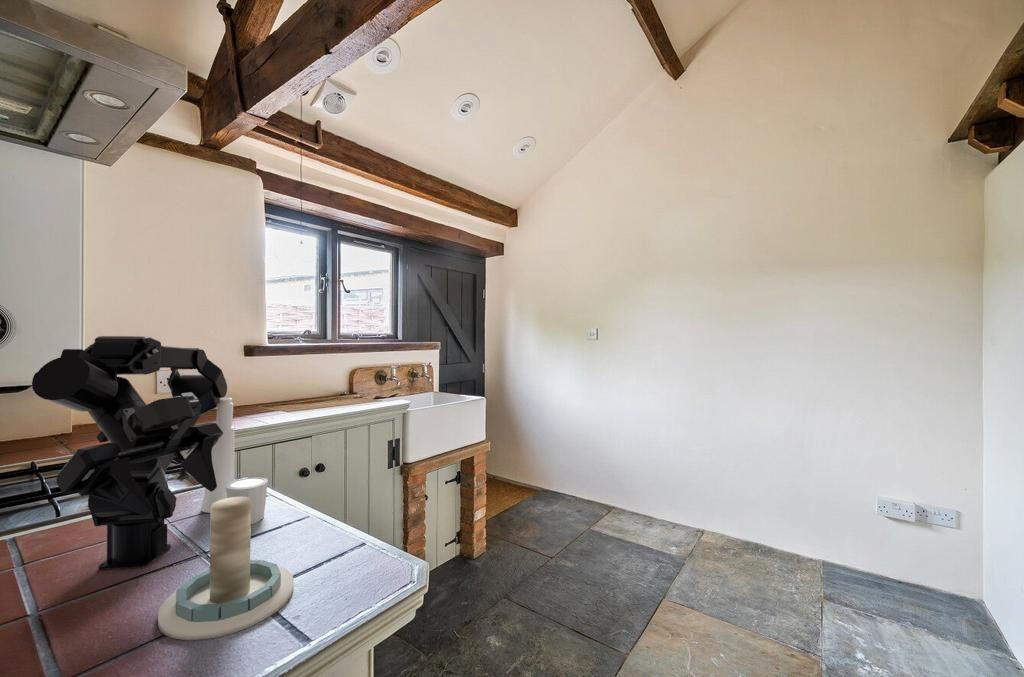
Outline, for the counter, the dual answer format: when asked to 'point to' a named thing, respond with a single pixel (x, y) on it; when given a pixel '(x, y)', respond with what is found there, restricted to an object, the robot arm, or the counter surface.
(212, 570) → the birch cylinder
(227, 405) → the cosmetic bottle
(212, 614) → the ring dish
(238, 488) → the white cup
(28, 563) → the counter surface
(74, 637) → the counter surface
